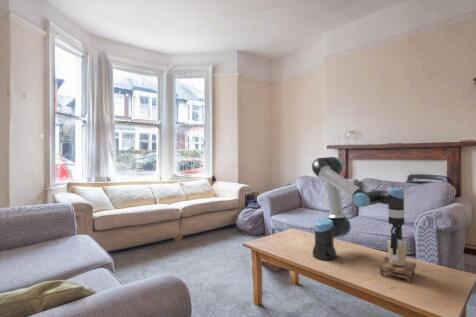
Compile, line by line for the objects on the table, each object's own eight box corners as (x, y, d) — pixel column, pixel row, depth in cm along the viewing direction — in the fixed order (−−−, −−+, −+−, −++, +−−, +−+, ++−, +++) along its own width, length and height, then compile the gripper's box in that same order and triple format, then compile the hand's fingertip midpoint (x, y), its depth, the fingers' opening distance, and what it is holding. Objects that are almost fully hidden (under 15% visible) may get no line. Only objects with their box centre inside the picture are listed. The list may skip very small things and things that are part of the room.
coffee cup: (403, 259, 150) (402, 238, 149) (410, 266, 140) (410, 244, 140) (385, 258, 151) (384, 237, 151) (391, 265, 142) (390, 243, 142)
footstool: (378, 275, 146) (378, 265, 145) (385, 265, 157) (385, 256, 157) (410, 283, 136) (410, 273, 135) (416, 273, 147) (415, 263, 146)
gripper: (399, 222, 135) (400, 265, 135) (408, 213, 151) (408, 252, 151) (383, 219, 140) (384, 262, 140) (393, 211, 156) (393, 249, 156)
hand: (397, 257), depth 146 cm, fingers closed on coffee cup, 9 cm apart
